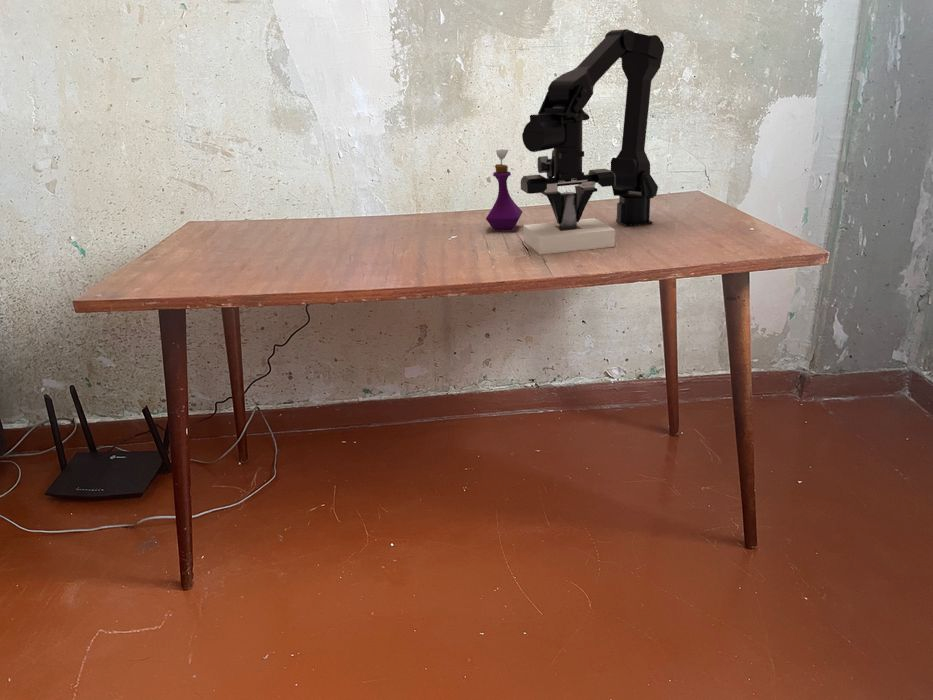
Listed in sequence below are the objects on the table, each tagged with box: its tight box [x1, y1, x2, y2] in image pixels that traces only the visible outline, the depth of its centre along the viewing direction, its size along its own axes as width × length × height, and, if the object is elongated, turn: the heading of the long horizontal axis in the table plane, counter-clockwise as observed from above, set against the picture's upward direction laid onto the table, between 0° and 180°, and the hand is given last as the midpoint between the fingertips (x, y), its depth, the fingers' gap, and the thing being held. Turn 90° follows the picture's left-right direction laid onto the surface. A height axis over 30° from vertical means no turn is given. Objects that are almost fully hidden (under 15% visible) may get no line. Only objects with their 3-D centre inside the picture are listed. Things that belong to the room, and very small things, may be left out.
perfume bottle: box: [485, 149, 523, 232], centre depth 162 cm, size 8×8×18 cm
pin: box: [559, 191, 577, 231], centre depth 147 cm, size 4×4×9 cm
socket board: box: [523, 217, 616, 256], centre depth 149 cm, size 16×12×4 cm
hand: (568, 222), depth 148 cm, fingers closed on pin, 4 cm apart
